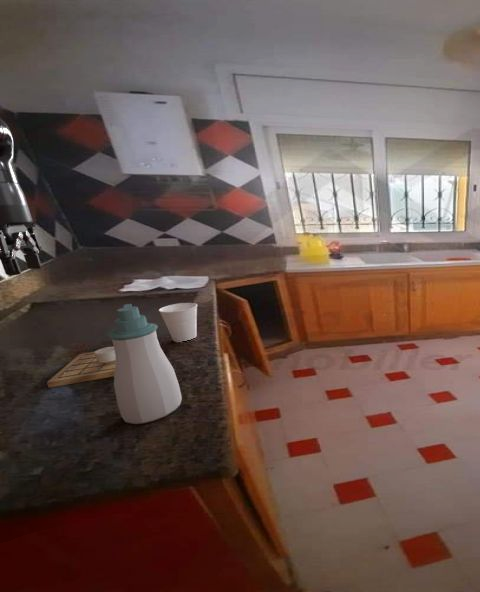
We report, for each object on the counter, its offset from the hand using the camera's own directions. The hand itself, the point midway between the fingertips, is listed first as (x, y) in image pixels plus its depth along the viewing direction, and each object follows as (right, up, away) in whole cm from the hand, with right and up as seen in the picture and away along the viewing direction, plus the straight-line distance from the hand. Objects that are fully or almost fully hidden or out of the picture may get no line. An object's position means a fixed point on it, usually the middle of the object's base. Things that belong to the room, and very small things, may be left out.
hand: (25, 271), depth 78 cm
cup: (+20, -20, +25) cm, 38 cm away
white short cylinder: (+13, -23, +8) cm, 28 cm away
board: (+13, -25, +8) cm, 29 cm away
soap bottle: (+41, -31, -11) cm, 53 cm away
